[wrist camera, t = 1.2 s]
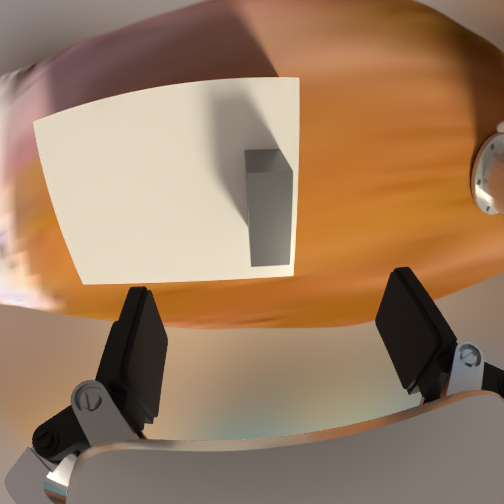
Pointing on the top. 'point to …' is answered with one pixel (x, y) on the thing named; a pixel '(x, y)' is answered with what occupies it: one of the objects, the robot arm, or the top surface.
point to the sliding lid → (177, 181)
